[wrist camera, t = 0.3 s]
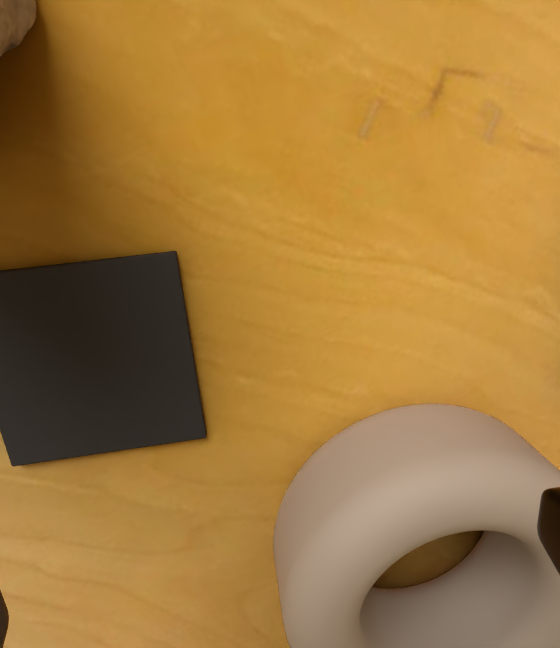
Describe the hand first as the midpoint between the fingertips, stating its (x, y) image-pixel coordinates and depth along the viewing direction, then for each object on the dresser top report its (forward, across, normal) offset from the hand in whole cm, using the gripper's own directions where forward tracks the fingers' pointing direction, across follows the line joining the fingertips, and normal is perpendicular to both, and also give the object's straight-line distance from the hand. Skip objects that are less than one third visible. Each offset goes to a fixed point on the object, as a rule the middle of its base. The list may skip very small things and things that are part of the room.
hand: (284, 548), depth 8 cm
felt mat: (+14, +7, +2) cm, 16 cm away
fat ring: (+14, -8, +13) cm, 21 cm away
